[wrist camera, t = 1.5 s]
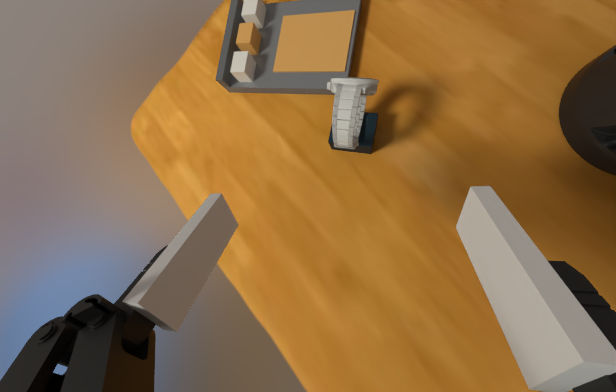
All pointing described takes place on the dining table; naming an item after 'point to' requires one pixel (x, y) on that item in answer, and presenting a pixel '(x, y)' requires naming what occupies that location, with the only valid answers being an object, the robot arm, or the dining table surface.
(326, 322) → the dining table surface
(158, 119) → the dining table surface
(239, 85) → the board
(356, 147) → the watch
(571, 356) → the robot arm
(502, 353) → the dining table surface
